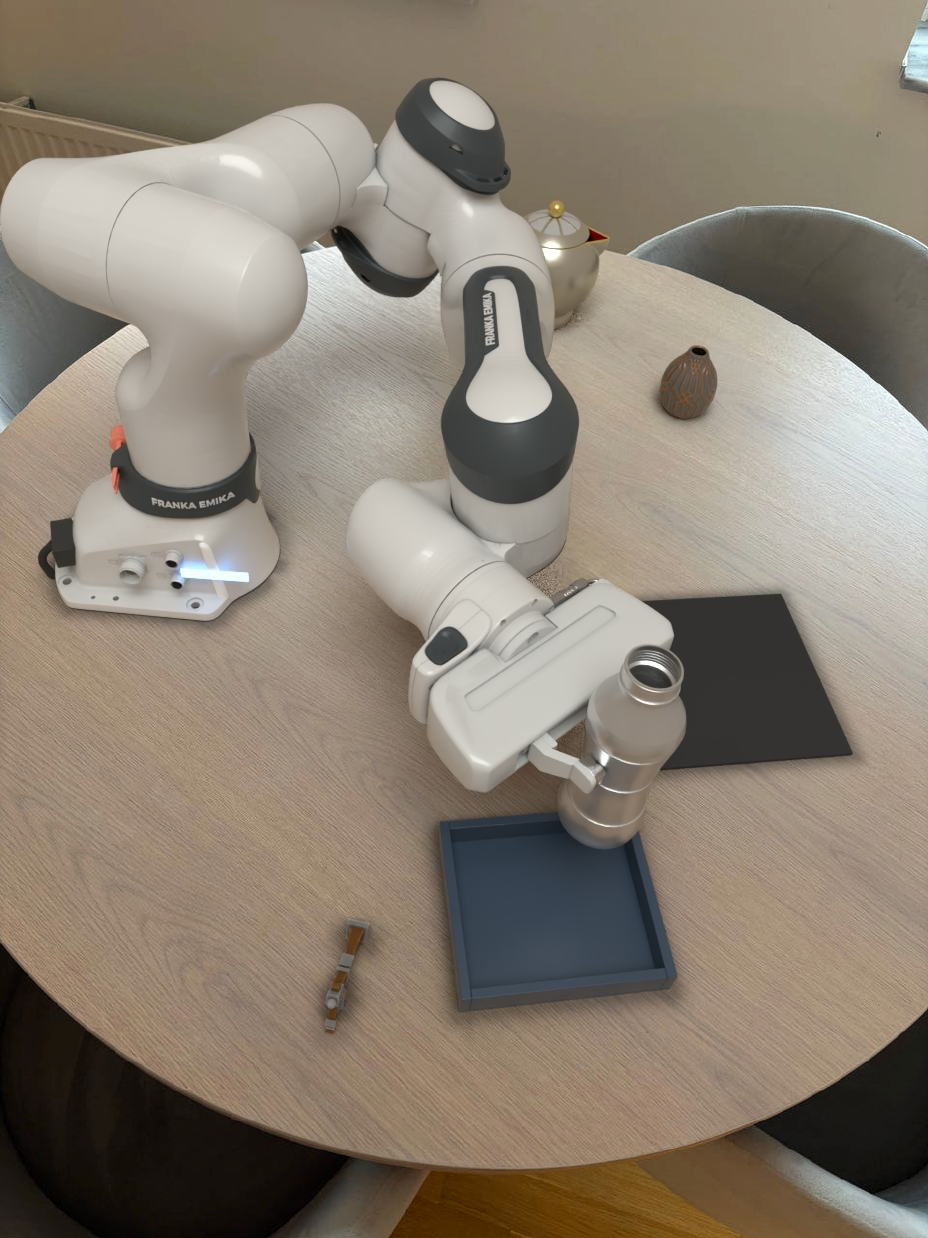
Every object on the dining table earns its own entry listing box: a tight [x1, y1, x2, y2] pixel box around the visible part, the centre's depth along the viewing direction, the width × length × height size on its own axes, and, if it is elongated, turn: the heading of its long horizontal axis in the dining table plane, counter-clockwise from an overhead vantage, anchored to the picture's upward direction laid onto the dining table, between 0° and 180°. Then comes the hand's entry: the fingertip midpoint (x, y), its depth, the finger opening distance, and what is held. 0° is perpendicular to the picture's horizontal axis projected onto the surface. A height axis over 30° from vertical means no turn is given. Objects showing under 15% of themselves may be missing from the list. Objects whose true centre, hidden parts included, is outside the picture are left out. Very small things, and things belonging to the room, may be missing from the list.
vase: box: [659, 344, 718, 420], centre depth 118 cm, size 7×7×9 cm
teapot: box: [522, 199, 611, 330], centre depth 127 cm, size 18×14×16 cm
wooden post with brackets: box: [324, 918, 371, 1035], centre depth 71 cm, size 2×8×4 cm, turn 169°
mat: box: [641, 593, 854, 771], centre depth 94 cm, size 20×20×1 cm
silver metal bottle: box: [557, 644, 686, 849], centre depth 66 cm, size 6×7×20 cm
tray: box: [437, 811, 678, 1013], centre depth 76 cm, size 17×15×3 cm
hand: (633, 755), depth 65 cm, fingers closed on silver metal bottle, 6 cm apart
